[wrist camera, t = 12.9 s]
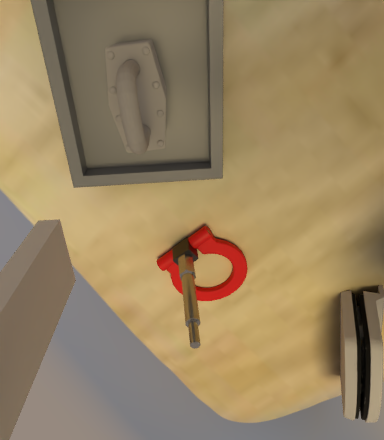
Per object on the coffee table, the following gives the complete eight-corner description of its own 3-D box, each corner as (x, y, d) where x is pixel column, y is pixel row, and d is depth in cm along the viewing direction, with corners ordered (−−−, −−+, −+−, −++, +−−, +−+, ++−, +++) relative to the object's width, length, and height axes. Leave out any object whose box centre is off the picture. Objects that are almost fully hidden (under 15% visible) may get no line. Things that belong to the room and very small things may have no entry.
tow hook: (259, 268, 40) (210, 216, 35) (298, 369, 29) (234, 312, 24) (201, 304, 42) (149, 260, 38) (217, 411, 31) (146, 366, 27)
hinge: (375, 370, 49) (387, 444, 41) (339, 366, 51) (344, 437, 43) (382, 282, 41) (399, 353, 33) (339, 281, 43) (346, 349, 35)
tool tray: (218, -26, 25) (223, -31, 23) (219, 168, 33) (222, 178, 30) (37, -19, 25) (25, -23, 23) (80, 176, 32) (73, 187, 30)
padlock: (172, 130, 30) (174, 174, 21) (125, 136, 30) (109, 182, 21) (159, 37, 26) (156, 45, 18) (107, 44, 26) (77, 54, 18)
